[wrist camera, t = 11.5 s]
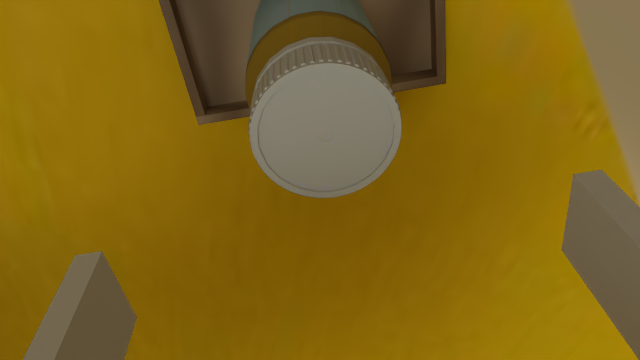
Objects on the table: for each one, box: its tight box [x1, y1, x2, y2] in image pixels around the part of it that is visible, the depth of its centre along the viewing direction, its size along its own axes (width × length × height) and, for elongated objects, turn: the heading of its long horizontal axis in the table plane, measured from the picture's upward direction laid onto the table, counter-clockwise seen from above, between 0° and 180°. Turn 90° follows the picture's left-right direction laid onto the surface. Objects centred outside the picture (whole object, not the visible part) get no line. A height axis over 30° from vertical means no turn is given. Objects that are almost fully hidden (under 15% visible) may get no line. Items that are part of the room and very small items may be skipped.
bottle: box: [245, 0, 402, 198], centre depth 26 cm, size 7×7×15 cm
